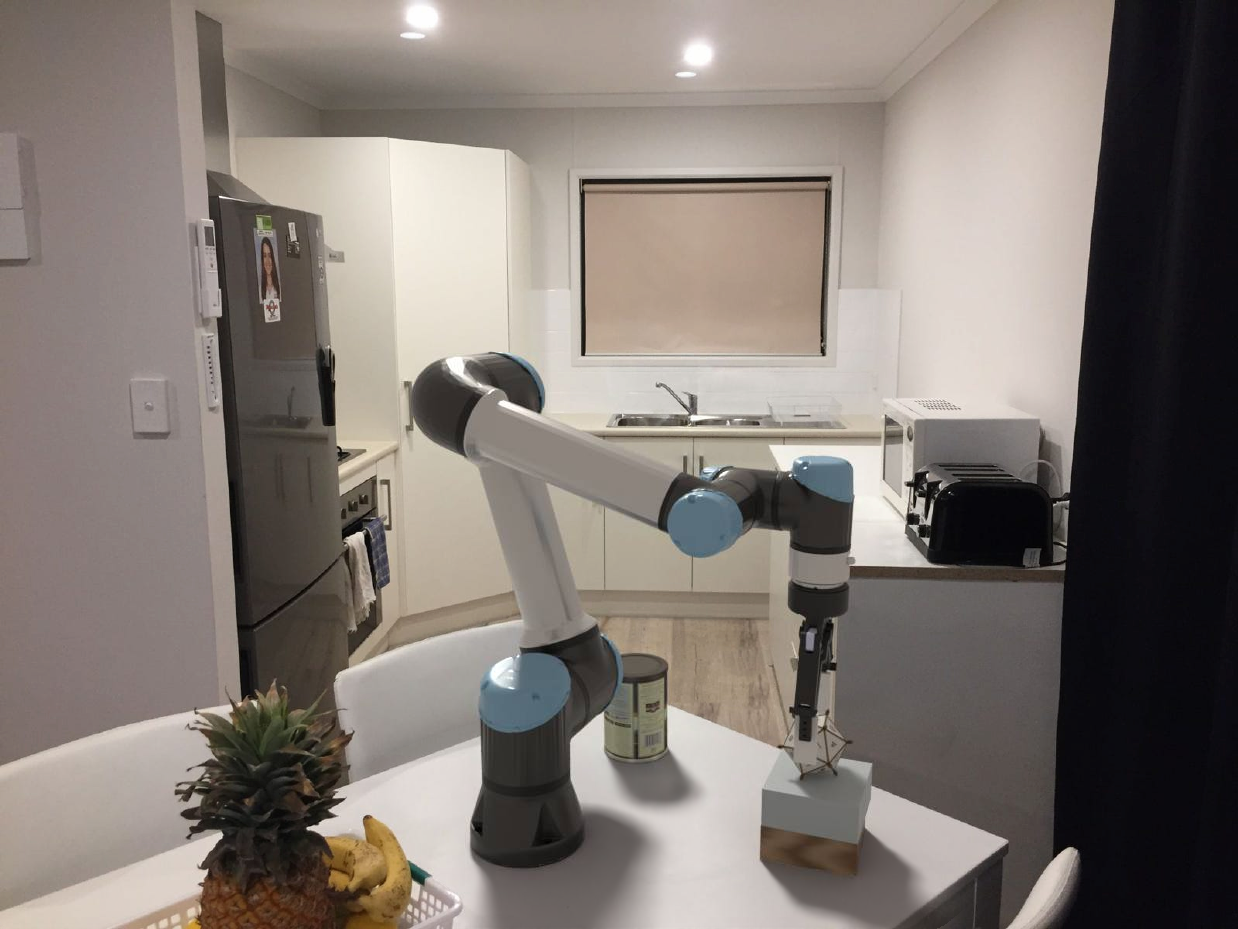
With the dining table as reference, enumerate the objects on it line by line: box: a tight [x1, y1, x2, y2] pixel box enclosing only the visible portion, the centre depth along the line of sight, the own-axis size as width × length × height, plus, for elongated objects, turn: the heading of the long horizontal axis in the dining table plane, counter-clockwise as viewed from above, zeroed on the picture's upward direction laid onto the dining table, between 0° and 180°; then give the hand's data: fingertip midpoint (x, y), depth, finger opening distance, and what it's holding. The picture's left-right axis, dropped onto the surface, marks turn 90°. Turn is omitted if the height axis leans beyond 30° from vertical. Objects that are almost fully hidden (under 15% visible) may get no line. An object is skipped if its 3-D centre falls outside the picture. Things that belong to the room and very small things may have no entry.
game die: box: [776, 708, 854, 781], centre depth 129 cm, size 9×8×10 cm
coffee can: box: [603, 652, 669, 764], centre depth 157 cm, size 10×10×14 cm
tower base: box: [759, 819, 866, 877], centre depth 130 cm, size 12×12×5 cm
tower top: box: [760, 748, 873, 844], centre depth 129 cm, size 12×12×5 cm
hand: (812, 739), depth 129 cm, fingers open, 13 cm apart
